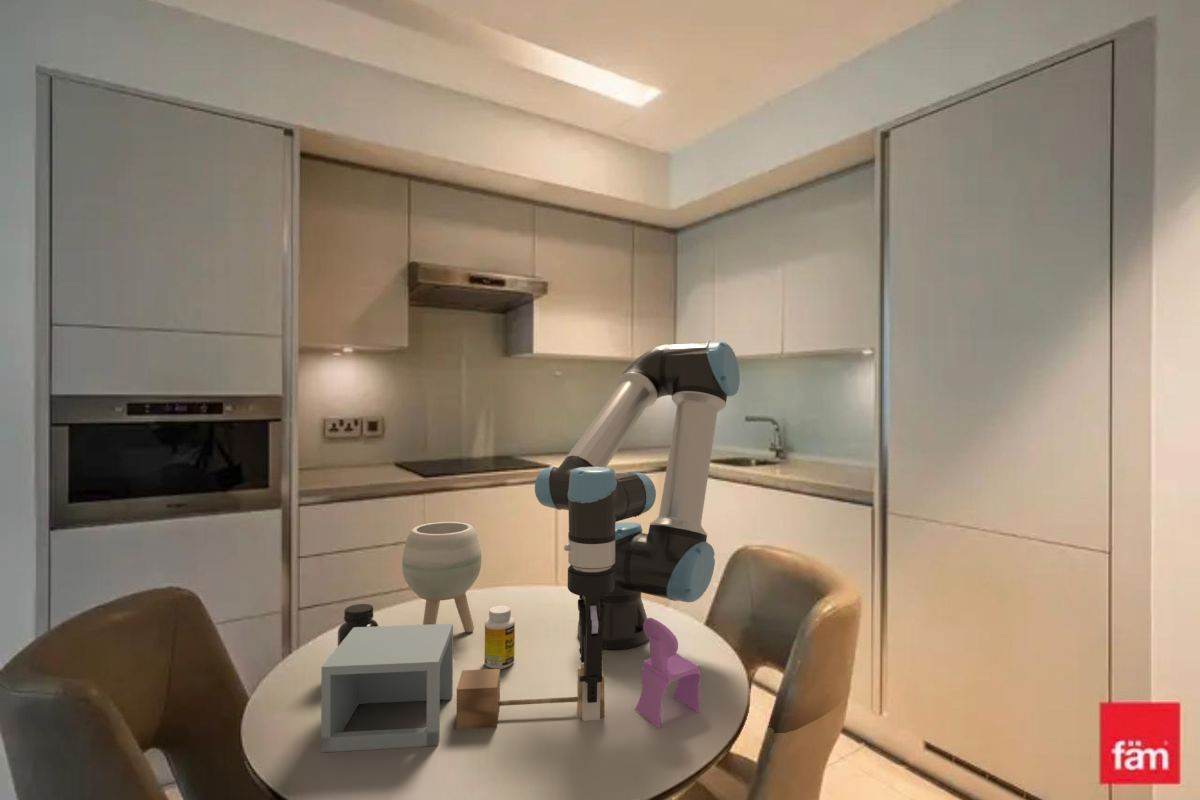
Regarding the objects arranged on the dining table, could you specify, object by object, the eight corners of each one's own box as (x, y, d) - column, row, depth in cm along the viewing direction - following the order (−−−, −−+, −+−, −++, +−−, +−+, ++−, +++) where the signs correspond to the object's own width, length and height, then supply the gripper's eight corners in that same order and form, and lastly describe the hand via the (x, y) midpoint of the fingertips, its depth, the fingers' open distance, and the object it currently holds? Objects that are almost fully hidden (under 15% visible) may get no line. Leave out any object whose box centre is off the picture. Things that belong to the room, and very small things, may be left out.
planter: (496, 629, 124) (497, 525, 124) (439, 657, 110) (439, 540, 110) (444, 613, 132) (445, 517, 132) (385, 638, 119) (385, 530, 119)
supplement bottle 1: (363, 686, 99) (363, 616, 99) (328, 682, 100) (328, 613, 100) (386, 667, 106) (386, 602, 106) (352, 664, 107) (353, 600, 107)
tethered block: (601, 700, 94) (601, 664, 94) (605, 721, 88) (605, 682, 88) (461, 707, 92) (462, 670, 92) (456, 729, 86) (456, 689, 86)
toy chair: (707, 714, 90) (707, 619, 90) (663, 731, 86) (664, 631, 86) (672, 691, 97) (673, 603, 97) (631, 706, 93) (631, 614, 93)
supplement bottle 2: (507, 672, 104) (507, 615, 104) (479, 668, 106) (479, 613, 106) (519, 658, 110) (519, 605, 110) (492, 655, 111) (492, 602, 111)
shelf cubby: (452, 695, 96) (453, 623, 96) (438, 745, 82) (438, 661, 82) (353, 700, 94) (353, 627, 94) (321, 752, 80) (321, 666, 80)
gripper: (565, 551, 99) (563, 687, 99) (570, 582, 82) (569, 745, 82) (608, 551, 100) (606, 685, 100) (622, 581, 83) (620, 742, 83)
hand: (589, 712), depth 91 cm, fingers closed on tethered block, 4 cm apart
